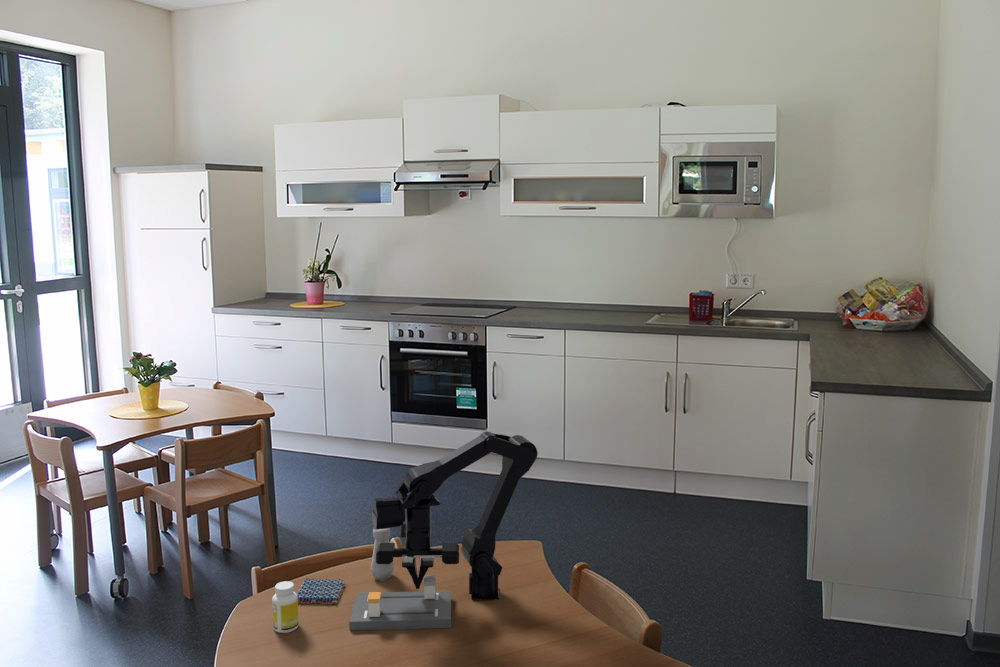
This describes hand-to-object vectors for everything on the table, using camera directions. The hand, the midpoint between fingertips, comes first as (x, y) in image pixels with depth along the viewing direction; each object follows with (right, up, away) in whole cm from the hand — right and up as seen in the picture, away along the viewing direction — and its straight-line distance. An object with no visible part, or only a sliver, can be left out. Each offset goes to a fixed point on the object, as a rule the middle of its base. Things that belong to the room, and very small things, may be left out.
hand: (417, 588), depth 185 cm
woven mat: (-24, -4, +6) cm, 25 cm away
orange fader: (-9, -3, -8) cm, 12 cm away
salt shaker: (-10, -2, +14) cm, 18 cm away
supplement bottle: (-28, -6, -9) cm, 30 cm away
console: (-3, -5, -3) cm, 7 cm away
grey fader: (+3, -2, +1) cm, 3 cm away
